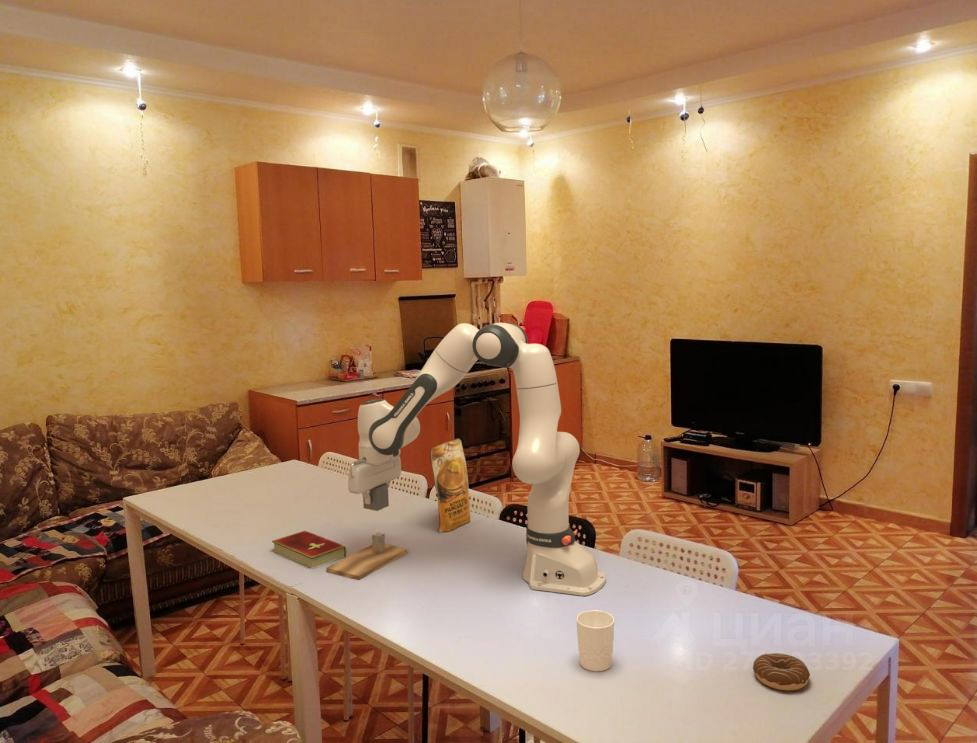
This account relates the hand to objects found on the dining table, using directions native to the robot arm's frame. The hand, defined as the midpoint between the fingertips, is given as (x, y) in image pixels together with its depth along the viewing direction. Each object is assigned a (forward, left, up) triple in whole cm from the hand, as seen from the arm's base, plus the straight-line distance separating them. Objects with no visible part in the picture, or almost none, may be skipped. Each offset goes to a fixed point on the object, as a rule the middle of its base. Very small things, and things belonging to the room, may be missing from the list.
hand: (376, 500), depth 212 cm
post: (0, 0, -16) cm, 16 cm away
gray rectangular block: (0, 0, -2) cm, 2 cm away
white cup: (-79, +25, -17) cm, 85 cm away
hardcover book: (+20, +9, -18) cm, 28 cm away
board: (0, +5, -17) cm, 18 cm away
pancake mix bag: (-5, -32, -17) cm, 37 cm away
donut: (-114, +13, -18) cm, 116 cm away
